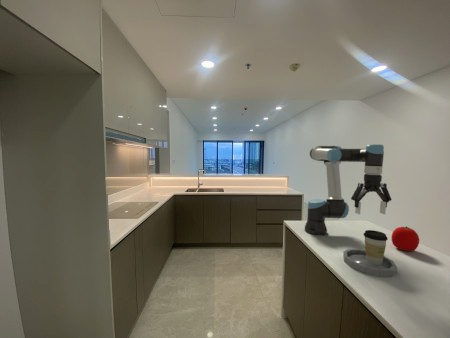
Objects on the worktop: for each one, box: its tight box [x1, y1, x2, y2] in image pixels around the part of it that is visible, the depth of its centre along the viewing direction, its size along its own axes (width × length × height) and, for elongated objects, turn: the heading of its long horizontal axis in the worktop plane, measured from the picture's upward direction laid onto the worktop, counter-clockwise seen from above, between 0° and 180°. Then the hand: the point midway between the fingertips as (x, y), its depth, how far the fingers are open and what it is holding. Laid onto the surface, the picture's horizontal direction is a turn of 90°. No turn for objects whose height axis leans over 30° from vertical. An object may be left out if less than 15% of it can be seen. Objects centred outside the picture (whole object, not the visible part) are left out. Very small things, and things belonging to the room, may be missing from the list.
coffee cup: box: [363, 229, 388, 265], centre depth 101 cm, size 10×10×15 cm
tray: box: [342, 248, 398, 278], centre depth 102 cm, size 21×21×3 cm
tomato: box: [390, 226, 420, 252], centre depth 118 cm, size 13×11×14 cm
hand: (370, 213), depth 106 cm, fingers open, 13 cm apart
